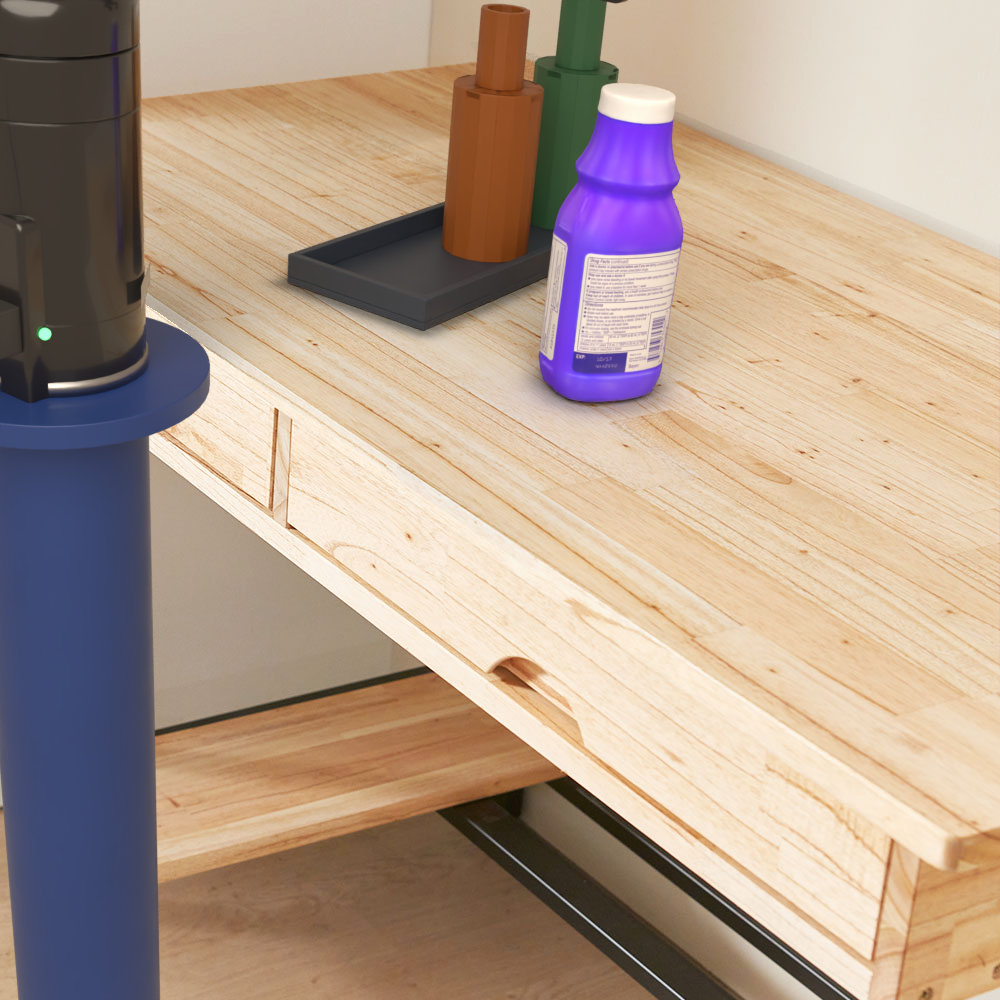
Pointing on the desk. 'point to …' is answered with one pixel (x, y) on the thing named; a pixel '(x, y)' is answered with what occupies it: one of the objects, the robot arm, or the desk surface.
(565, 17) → the green bottle
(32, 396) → the robot arm
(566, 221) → the bottle
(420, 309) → the tray
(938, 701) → the desk surface
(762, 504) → the desk surface
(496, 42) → the amber bottle
